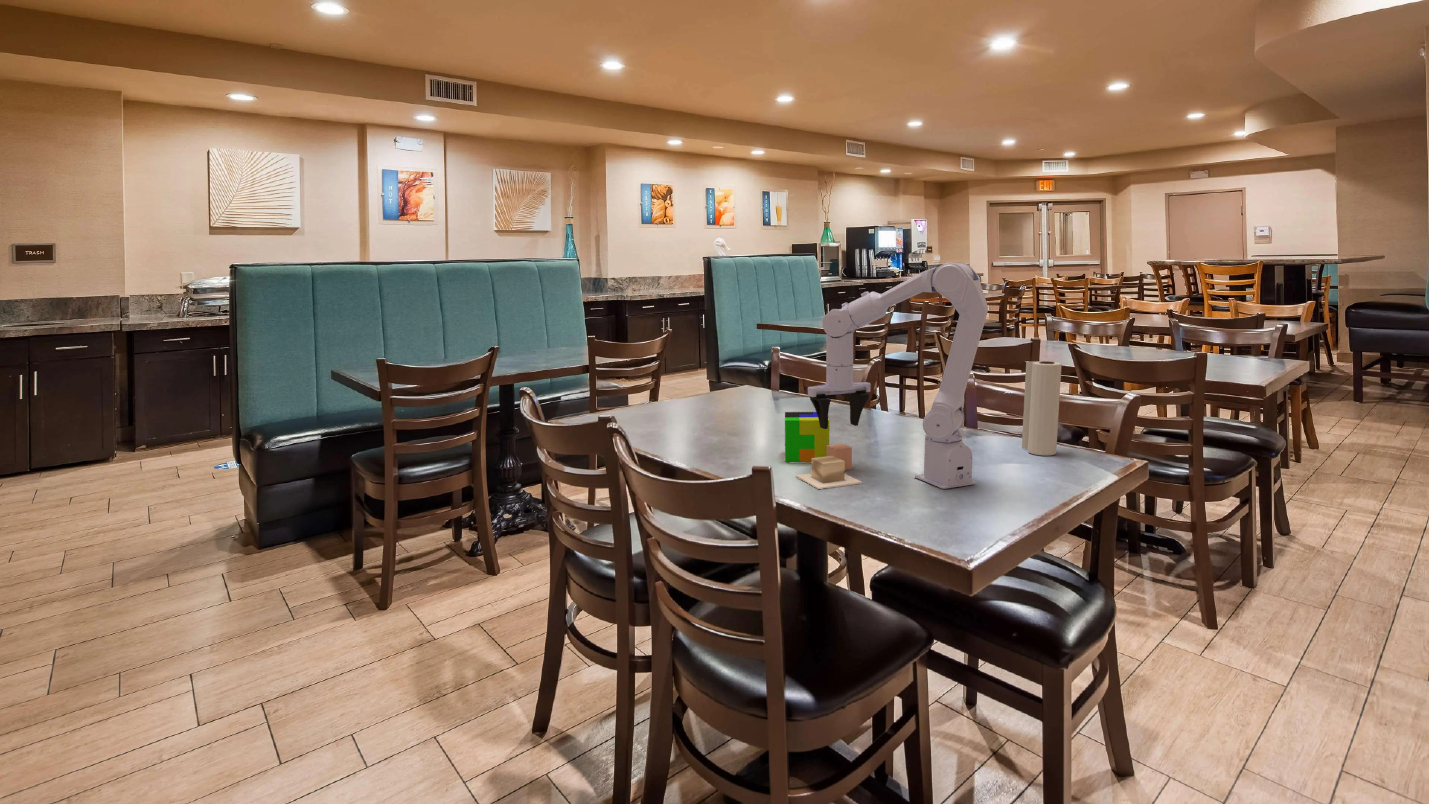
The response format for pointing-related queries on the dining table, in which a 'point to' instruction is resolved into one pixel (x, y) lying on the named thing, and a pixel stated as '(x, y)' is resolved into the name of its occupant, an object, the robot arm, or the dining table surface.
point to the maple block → (828, 469)
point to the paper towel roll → (1041, 407)
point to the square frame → (820, 485)
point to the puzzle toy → (804, 437)
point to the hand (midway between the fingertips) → (839, 426)
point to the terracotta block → (841, 453)
